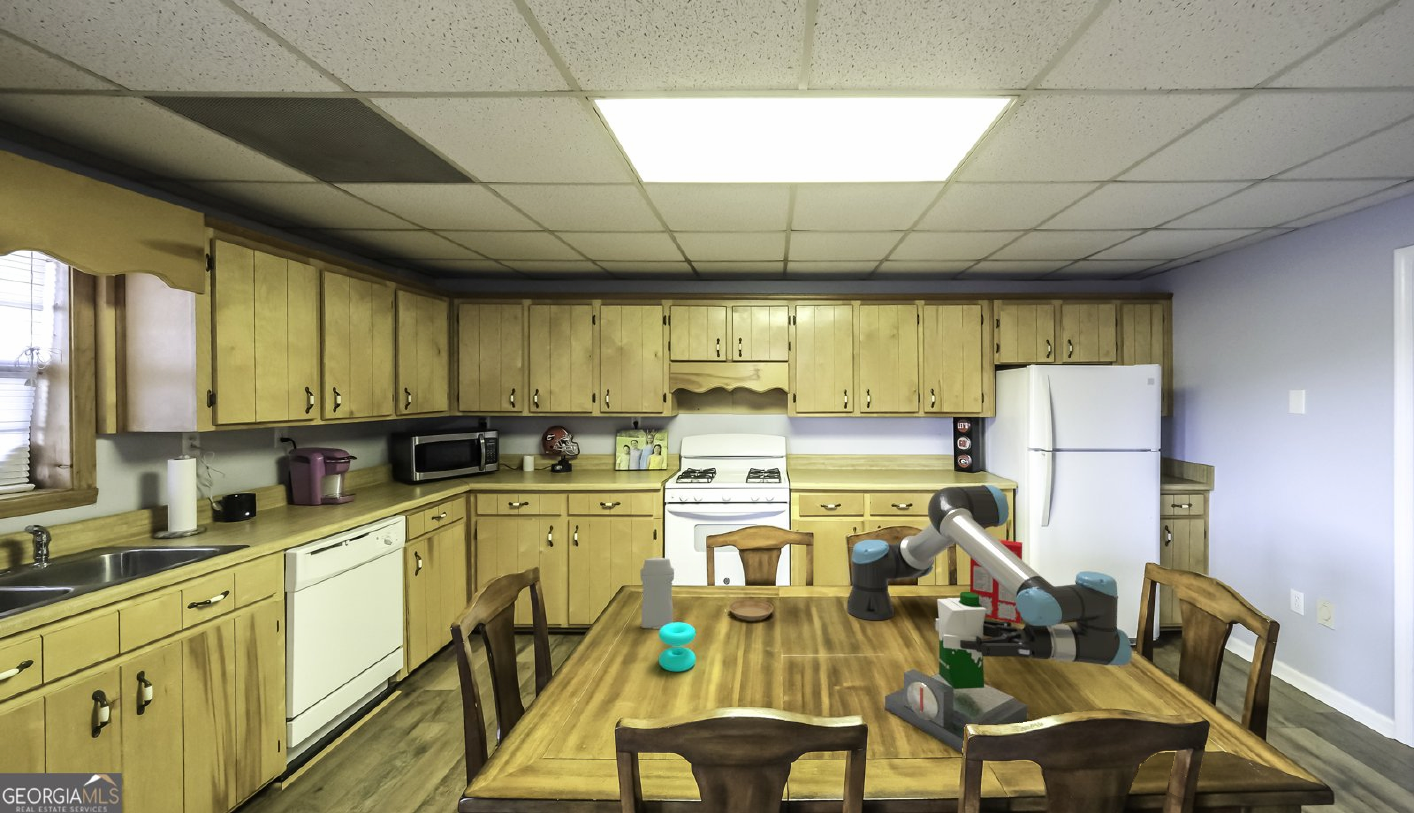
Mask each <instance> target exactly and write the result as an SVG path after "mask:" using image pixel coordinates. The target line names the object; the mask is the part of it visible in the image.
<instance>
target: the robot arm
mask: <svg viewBox="0 0 1414 813" xmlns="http://www.w3.org/2000/svg"><path fill="white" fill-rule="evenodd" d="M1008 502H1009V501H1008V500H1007V497H1006V495H1005V494H1004V492H1003V491H1002V490H1001V489H1000V488H998V487H997V486H994V485H987V484H982V485H968V486H947V487H943V488H941V489H939V490H937V491H936V492H934V494H933V495H932V496H931V497H930V500H929V502H928V505H927V515H928V518H929V521H930V523H929V524H928V525H927V526H926V527H925V528H923V529H922V530H921V531H919V532H918V533H917V534H916V535H908V536H906V537H904V538H902V540H900V541H899V542H897V543H888V542H887V541H885V540H882V539H865V540H861V541H858V542H857V543H855V545H854V546H853V548H852V554H851V555H852V556H851V561H852V564H851V565H852V570H851V571H852V573H851V577H852V579H851V580H852V581H851V582H852V585H851V590H850V593H849V596H848V599H847V602H846V611H847V612H848V614H850V615H852V616H853V617H856V618H859V619H864V620H869V621H885V620H888V619H891V618H893V617H894V605H893V603H892V600H891V596H890V593H889V581H890V580H891V581H893V580H902V579H919V578H924V577H926V576H928V575H929V574H930V573H931V572H932V570H933V569H934V568H933V567H934V565H935V564H934V563H935V558H936V557H937V556H939V555H941V553H943V552H944V551H945V550H947V549H949V548H950V547H952V546H953V545H955V544H956V545H957V546H958V547H960V549H961V550H962V551H964V552H965V553H966V554H967V555H968V556H969V557H971V558H972V559H973V560H975V561H976V562H977V563H978V564H979V565H980V566H981V567H982V568H983V569H984V570H985V571H986V572H988V573H989V574H990V575H991V576H992V577H993V578H994V579H995V580H996V581H997V582H998V583H999V584H1001V585H1002V586H1003V587H1004V588H1005V589H1006V590H1007V591H1008V592H1009V593H1010V594H1011V595H1013V596H1014V597H1015V598H1016V607H1017V610H1018V611H1019V612H1020V614H1021V620H1023V621H1024V622H1025V624H1024V626H1023V628H1018V627H1015V626H1012V622H1008V621H1000V620H999V621H997V620H991V619H984V624H983V639H981V638H980V637H978V636H976V641H975V637H969V636H957V635H945V634H943V646H944V648H953V649H964V650H976V651H977V652H980V653H982V656H983V657H986V658H987V657H991V658H992V657H998V658H1000V657H1001V658H1002V657H1003V658H1004V657H1005V658H1006V657H1010V658H1011V657H1012V658H1013V657H1018V658H1025V659H1029V658H1031V659H1037V660H1049V659H1050V660H1053V661H1059V663H1064V662H1073V663H1074V662H1075V663H1084V664H1094V665H1102V666H1126V665H1128V664H1129V663H1130V662H1131V660H1132V656H1133V650H1132V649H1133V648H1132V647H1131V640H1130V638H1129V636H1128V635H1127V633H1126V632H1125V631H1123V630H1122V629H1118V604H1119V603H1118V602H1119V601H1118V599H1119V596H1118V585H1117V584H1118V583H1117V581H1116V579H1115V578H1114V577H1113V576H1111V575H1108V574H1106V573H1102V572H1098V571H1097V572H1096V571H1080V572H1078V573H1077V574H1076V576H1075V580H1074V584H1065V585H1057V586H1056V585H1055V586H1054V585H1053V584H1052V583H1050V582H1049V581H1048V580H1046V579H1045V578H1044V577H1043V576H1042V575H1040V573H1038V571H1035V570H1034V569H1033V568H1032V567H1031V566H1029V565H1028V564H1027V563H1026V562H1025V561H1024V560H1023V559H1022V560H1021V559H1020V558H1019V557H1017V556H1016V555H1015V554H1014V553H1013V552H1011V551H1010V550H1009V549H1008V548H1007V547H1005V546H1004V545H1003V544H1002V543H1001V542H999V541H998V540H999V539H998V540H997V538H996V537H995V536H993V535H992V534H991V533H990V532H989V531H988V530H986V529H989V528H991V527H993V528H997V527H1001V526H1004V525H1005V524H1006V522H1007V521H1008V519H1009V515H1010V513H1009V510H1010V506H1009V503H1008ZM1068 623H1075V625H1068ZM935 631H936V632H939V618H935ZM984 637H986V638H984Z"/></svg>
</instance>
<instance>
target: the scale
mask: <svg viewBox="0 0 1414 813" xmlns="http://www.w3.org/2000/svg"><path fill="white" fill-rule="evenodd" d="M884 709H885V710H887V711H888V712H890V713H891V714H893V715H895V716H896V717H898V718H900V719H902V720H903V721H905V722H907V723H908V724H910V725H912V726H914V727H915V728H917V729H919V730H921V731H922V732H924V733H926V734H927V735H929V736H931V737H932V738H935V739H936V740H938V741H939V742H941V743H942V744H945V745H947V746H948V747H950V748H952V749H953V750H955V751H956V752H959V754H962V748H963V741H964V727H965V725H966V724H978V725H998V724H1010V723H1019V722H1020V723H1023V721H1025V720H1027V719H1028V704H1026V703H1024V702H1021V701H1020V700H1017V699H1015V697H1014V696H1012V695H1010V694H1007V693H1005V692H1003V691H1001V690H999V689H997V688H995V687H992V686H990V685H987V684H986V683H984V688H969V689H954V688H953V687H952V686H951V685H950V684H948V683H947V682H946V681H945V680H944V679H943V678H942V677H941V676H940V675H939V672H937V673H935V674H933V675H931V676H930V675H927V674H925V673H923V672H921V671H919V670H917V669H915V668H912V669H910V670H907V671H906V672H903V688H900V689H899V690H898V689H897V690H896V691H894V692H892V693H889V694H886V695H884ZM1020 723H1019V724H1020Z"/></svg>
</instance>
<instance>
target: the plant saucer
mask: <svg viewBox="0 0 1414 813" xmlns="http://www.w3.org/2000/svg"><path fill="white" fill-rule="evenodd" d="M728 609H729V610H730V612H731V614H733V615H734V616H735V617H736V618H737V619H740V620H742V621H747V622H757V621H761V620H764V619H766V618H767V617H769V616H770V615H771V614H772V612H773V611H774V606H773V605H772V604H771V603H769V602H767V601H763V600H758V599H741V600H736V601H732V602H731V603H730V605H728Z"/></svg>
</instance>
